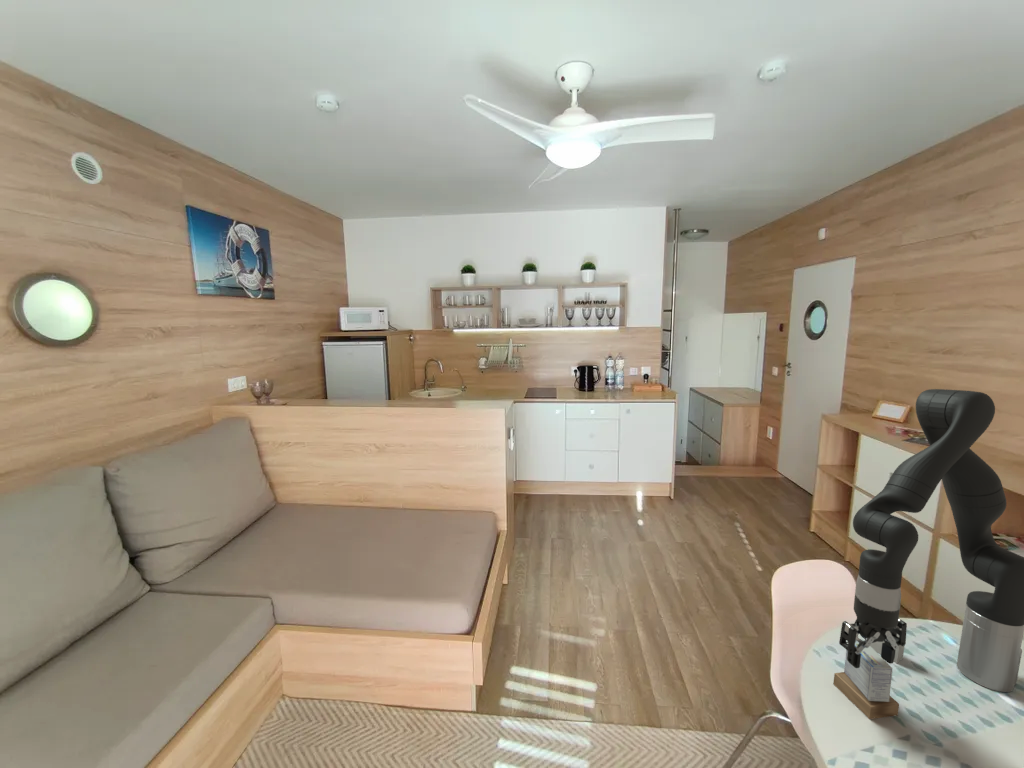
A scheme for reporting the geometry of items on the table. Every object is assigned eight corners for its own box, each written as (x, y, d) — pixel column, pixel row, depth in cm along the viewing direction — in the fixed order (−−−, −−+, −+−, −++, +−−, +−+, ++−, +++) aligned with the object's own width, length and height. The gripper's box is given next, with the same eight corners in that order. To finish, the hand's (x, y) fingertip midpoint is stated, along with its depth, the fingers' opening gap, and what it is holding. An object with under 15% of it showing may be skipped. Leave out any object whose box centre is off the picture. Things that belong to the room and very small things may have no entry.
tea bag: (896, 663, 105) (901, 628, 103) (864, 645, 110) (868, 612, 109) (902, 658, 106) (907, 623, 105) (870, 640, 112) (874, 607, 111)
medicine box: (889, 703, 90) (894, 668, 89) (868, 701, 91) (872, 667, 90) (862, 673, 98) (866, 641, 97) (843, 672, 98) (846, 639, 97)
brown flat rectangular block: (859, 681, 100) (860, 669, 99) (897, 715, 91) (899, 703, 90) (833, 684, 99) (834, 672, 98) (869, 719, 90) (870, 706, 89)
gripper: (888, 584, 95) (881, 646, 98) (833, 590, 94) (827, 653, 96) (923, 606, 88) (915, 672, 90) (864, 613, 87) (857, 680, 89)
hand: (870, 662), depth 93 cm, fingers open, 8 cm apart
